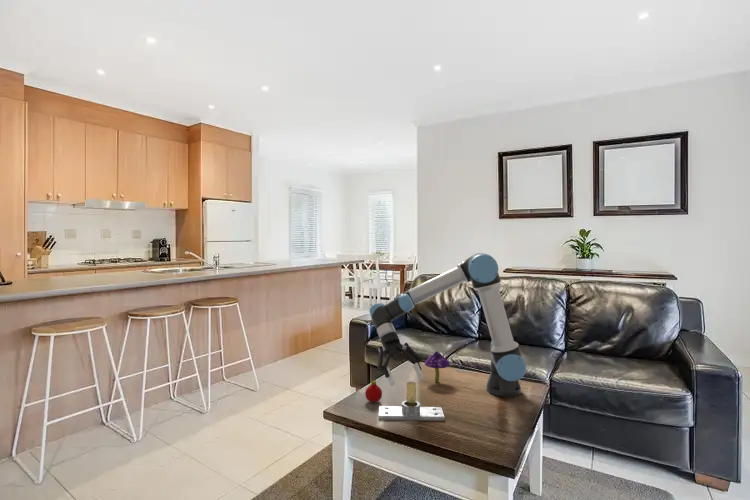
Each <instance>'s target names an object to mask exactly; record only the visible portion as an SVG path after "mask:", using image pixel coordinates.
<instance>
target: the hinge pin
mask: <svg viewBox="0 0 750 500" xmlns="http://www.w3.org/2000/svg"><path fill="white" fill-rule="evenodd" d="M416 395H417V382H415V381H407V382H406V400H407V401H406V400H405V401H406V406H416V401H417V399H416V398H417V396H416Z"/></svg>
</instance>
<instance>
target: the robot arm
mask: <svg viewBox="0 0 750 500" xmlns="http://www.w3.org/2000/svg"><path fill="white" fill-rule="evenodd" d="M470 282H471V284H472V288H473V289H474V290H475V291H477V292H478V295H479V300H480V303H481V307H482V311H483V314H484V318H485V321H486V324H487V327H488V331H489V335H490V338H491V342H490V346H489V347H490V374H489V376H488V379H487V382H486V386H485V387H486V391H487V392H488V393H490V394H492V395H495V396H498V397H504V398H510V397H511V398H512V397H513V398H515V397H517V396H520V395H521V394H522V387H521V383H520V380H521V379H522V378H523V377H524V375H525V374H526V372H527V363H526V361H525V359H524V357H523V356H522V355H523V354H522V352H521V349H520V346H519V343H518V342H516V341H514V336H513V334H512V330H511V327H510V323H509V320H508V317H507V312H506V309H505V306H504V303H503V299H502V294H501V292H500V287H499V286H500V284H501V282H502V281H501V278H500V274H499V265H498V262H497V260H496V259H495V258H494V257H493V256H492V255H490V254H487V253H482V252H478V253H475V254H473V255H470V256H469V257H468V258H466V259H465V260H462V261H461V262H459V263H458V264H457V265H456V267H454V268H451V269H450V270H448V271H446V272H443V273H441V274H439V275H437V276H435V277H433V278H431V279H429V280H427V281H424V282H422V283H421V284H418V285H416V286H414V287H412V288H410V289H408V290H406V291H404V292H401V293H399V294H397V295H395V298H394V299H393V300H391V301H390V302H388V303H387V304H384V303H383V302H378V303H375V304H373V305H371V306H370V308H369V314H370V317H371V318H370V319H371V321H372V324H373V326H374V327H375V329H376V333H377V335H378V338H379V339H380V343H381V345H380V346H379V348H378V349H377V352H378V357H377V369H376V370H377V371H380V372H382V373H383V375H384V377H385V378H387V380H388V383H389V385H390V387H393V386H394V384H395V383H396V382H395V379H394V377H393V373H392V372H391V369H390V367H388V365H389V363H390V359H391V357H398V356H400V357H402V358H404V359H405V360H407V361H408V362H410V363H411V364H412V366H413V367H412V368H413V369H414V371H415V373H416V376H417V378H418V380H419V381H422V380H423V378H424V377H425V376H424V374H423V373H422V367H421V362H422V359H423V358H421V357H420V356H419V355H418V353H417V352H416V351H414V349H412V348H411V346H410V345H409V344H408V342H405V343H403V344H402V343H401V341H400V337H399V335H398V333H397V331H396V329H395V326H394V324H393V321H394V320H396V319H398V318H399V317H401V316H403V315H404V314H406V313H408V312H410V311H411V310H413V309H414V308H415V306H416V305H418V304H420V303H422V302H424V301H426V300H428V299H431V298H432V297H435V296H436V295H439V294H441V293H444V292H445V291H447V290H450V289H452V288H454V287H456V286H459V285H460V284H463V283H470ZM384 352H385V353H387V354H386V357H385V359H384ZM383 362H384V363H383Z"/></svg>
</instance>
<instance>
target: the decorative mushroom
mask: <svg viewBox="0 0 750 500" xmlns="http://www.w3.org/2000/svg"><path fill="white" fill-rule="evenodd" d="M423 363H424V365H425V366H426V367H428V368H431V369H432V368H433V369H434V371H435V375H434V376H435V377H434V382H436V383H437V382H440V369H446V368H448V367H450V366H451V363H450V362H449V361H448V359H447V358H446V357H445V356H444V355H443V354H441V352H440V351H438V350H436V351H434V352H433V353H432V354H431V355H429V357H428V358H427V359H426V360H424V361H423Z"/></svg>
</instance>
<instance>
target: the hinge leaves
mask: <svg viewBox="0 0 750 500" xmlns="http://www.w3.org/2000/svg"><path fill="white" fill-rule="evenodd" d="M406 401H407V399H406V400H404V401H402V402H401V406H398V405H396V406H395V405H392V406H391V405H379V406H378V420H380V419H382V420H387V421H389V420H390V421H392V420H393V421H396V420H397V421H443V422H444V421H445V415H444V411H443V408H442V407H441V406H421V403H420V402H419V401H418V400H416V406H406Z"/></svg>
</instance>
